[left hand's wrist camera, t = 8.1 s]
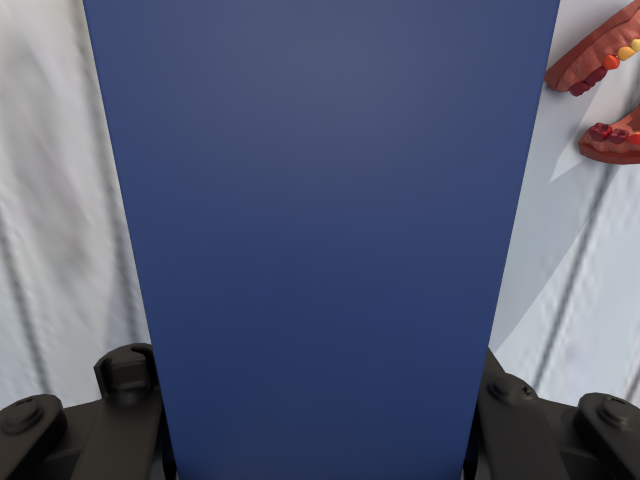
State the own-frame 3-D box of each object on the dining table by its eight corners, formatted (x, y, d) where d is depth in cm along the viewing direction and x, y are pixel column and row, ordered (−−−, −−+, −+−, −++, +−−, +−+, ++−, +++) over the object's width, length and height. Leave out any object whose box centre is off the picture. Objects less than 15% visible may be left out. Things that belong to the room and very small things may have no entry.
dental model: (704, -43, 15) (755, 116, 18) (628, -17, 19) (677, 110, 21) (574, 51, 17) (636, 186, 19) (528, 56, 20) (584, 168, 23)
